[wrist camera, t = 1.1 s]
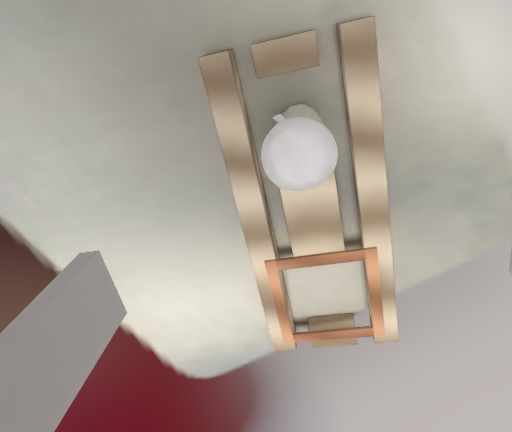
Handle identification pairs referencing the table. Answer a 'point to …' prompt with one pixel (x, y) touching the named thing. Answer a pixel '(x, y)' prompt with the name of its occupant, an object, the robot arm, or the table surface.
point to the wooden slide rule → (319, 198)
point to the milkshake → (299, 150)
